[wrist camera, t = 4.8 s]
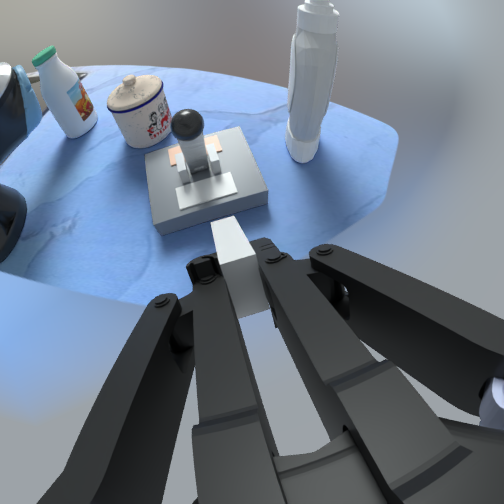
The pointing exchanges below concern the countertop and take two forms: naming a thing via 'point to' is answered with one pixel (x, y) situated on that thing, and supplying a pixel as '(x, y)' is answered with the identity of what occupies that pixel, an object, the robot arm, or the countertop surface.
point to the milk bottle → (64, 94)
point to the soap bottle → (311, 76)
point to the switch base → (203, 183)
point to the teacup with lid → (141, 110)
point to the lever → (190, 138)
